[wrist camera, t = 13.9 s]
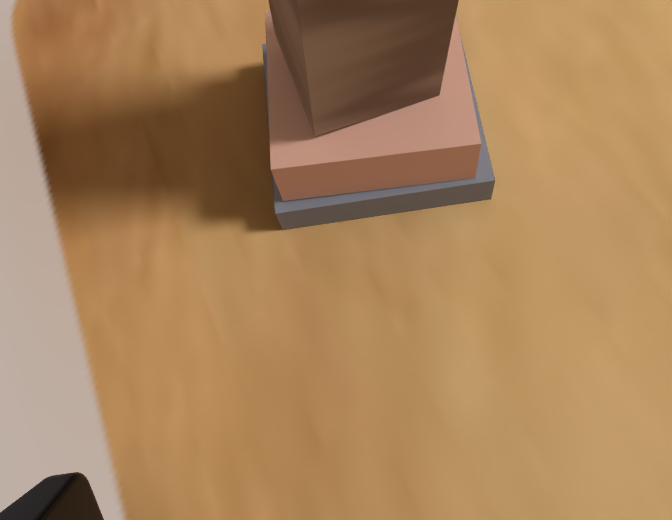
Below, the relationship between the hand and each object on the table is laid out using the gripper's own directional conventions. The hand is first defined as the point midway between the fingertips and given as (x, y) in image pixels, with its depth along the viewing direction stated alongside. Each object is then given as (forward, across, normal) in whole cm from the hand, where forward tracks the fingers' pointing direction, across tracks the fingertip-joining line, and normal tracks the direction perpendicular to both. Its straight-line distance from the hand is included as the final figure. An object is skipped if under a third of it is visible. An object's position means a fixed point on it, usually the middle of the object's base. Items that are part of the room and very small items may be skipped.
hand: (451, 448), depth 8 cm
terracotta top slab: (+18, 0, -1) cm, 19 cm away
